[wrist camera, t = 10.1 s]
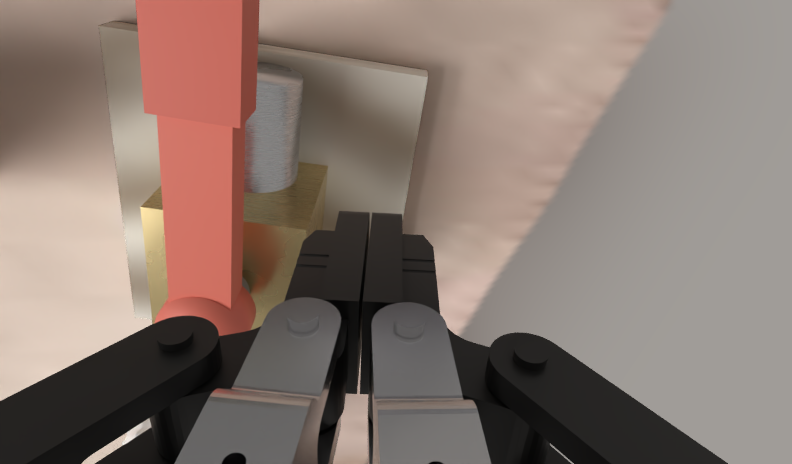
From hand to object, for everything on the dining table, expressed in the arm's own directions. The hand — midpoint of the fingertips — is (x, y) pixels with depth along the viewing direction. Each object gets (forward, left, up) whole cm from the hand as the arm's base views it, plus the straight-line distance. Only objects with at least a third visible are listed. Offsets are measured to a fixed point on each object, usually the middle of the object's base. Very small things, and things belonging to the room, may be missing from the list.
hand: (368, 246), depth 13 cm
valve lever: (-3, +6, -8) cm, 11 cm away
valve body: (-8, +6, -16) cm, 19 cm away
